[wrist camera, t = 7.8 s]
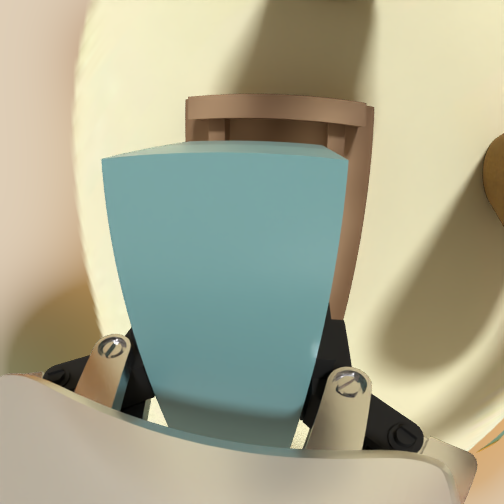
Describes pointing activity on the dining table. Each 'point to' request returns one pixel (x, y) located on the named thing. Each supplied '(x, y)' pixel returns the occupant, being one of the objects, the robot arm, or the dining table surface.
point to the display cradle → (300, 131)
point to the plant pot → (495, 176)
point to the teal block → (227, 277)
